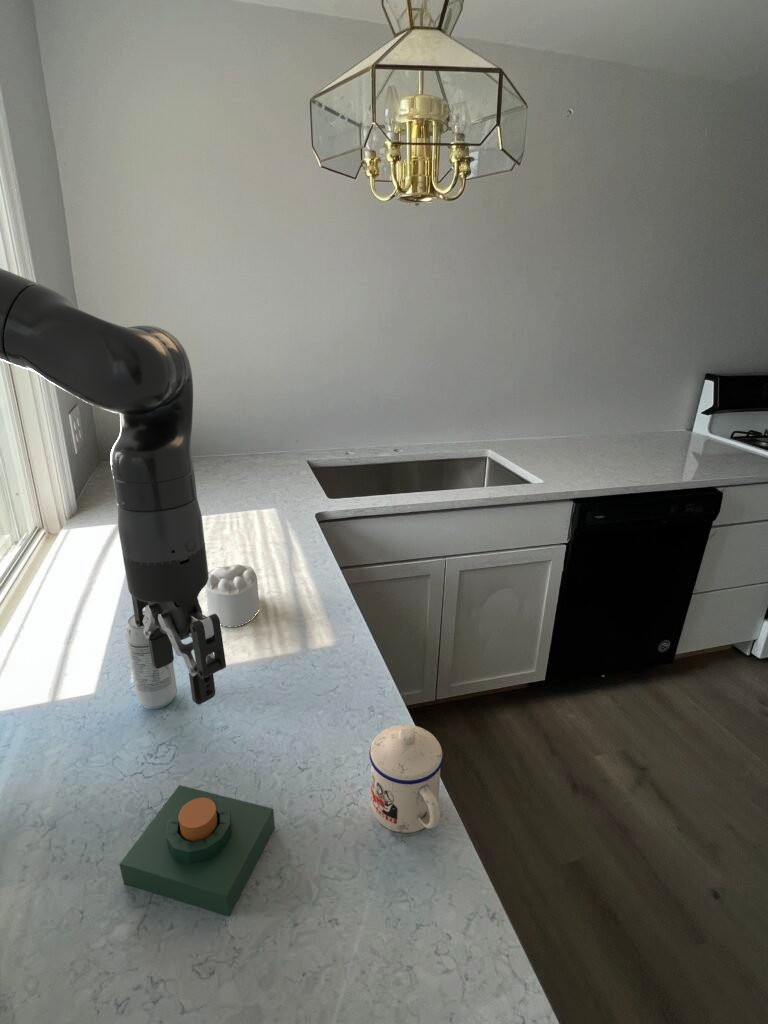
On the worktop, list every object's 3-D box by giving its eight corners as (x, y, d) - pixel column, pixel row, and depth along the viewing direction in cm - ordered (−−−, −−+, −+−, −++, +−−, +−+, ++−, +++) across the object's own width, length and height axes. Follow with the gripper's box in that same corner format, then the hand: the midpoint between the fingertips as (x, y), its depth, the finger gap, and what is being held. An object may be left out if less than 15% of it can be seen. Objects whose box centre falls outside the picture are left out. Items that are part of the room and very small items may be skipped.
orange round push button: (173, 836, 62) (171, 823, 61) (193, 807, 65) (191, 794, 65) (205, 845, 61) (203, 831, 60) (224, 815, 65) (222, 801, 64)
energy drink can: (180, 685, 93) (169, 607, 88) (174, 709, 88) (162, 627, 82) (142, 688, 92) (129, 609, 87) (133, 713, 87) (118, 631, 81)
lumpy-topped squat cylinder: (255, 592, 123) (252, 557, 120) (263, 622, 112) (261, 584, 109) (206, 600, 120) (202, 563, 117) (209, 631, 108) (205, 592, 105)
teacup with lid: (357, 791, 73) (357, 720, 69) (417, 767, 77) (420, 699, 73) (400, 869, 63) (403, 792, 59) (466, 837, 67) (473, 763, 63)
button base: (123, 884, 61) (116, 851, 60) (182, 803, 71) (177, 773, 70) (229, 917, 58) (225, 883, 57) (275, 827, 68) (272, 797, 66)
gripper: (93, 534, 56) (118, 669, 61) (163, 579, 47) (185, 732, 53) (164, 514, 61) (181, 641, 67) (239, 552, 52) (251, 694, 58)
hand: (183, 681), depth 60 cm, fingers open, 8 cm apart
